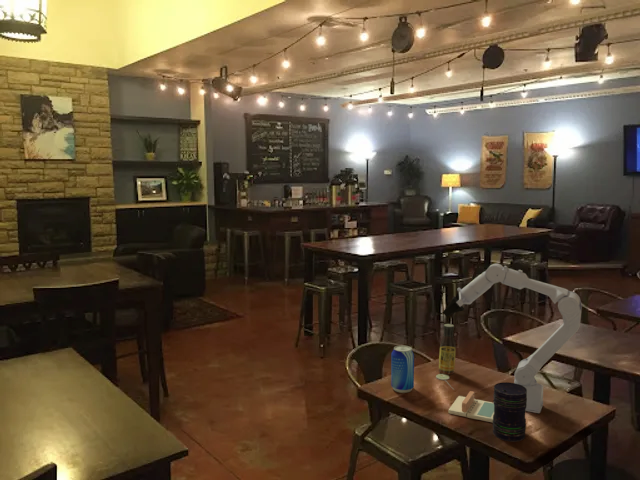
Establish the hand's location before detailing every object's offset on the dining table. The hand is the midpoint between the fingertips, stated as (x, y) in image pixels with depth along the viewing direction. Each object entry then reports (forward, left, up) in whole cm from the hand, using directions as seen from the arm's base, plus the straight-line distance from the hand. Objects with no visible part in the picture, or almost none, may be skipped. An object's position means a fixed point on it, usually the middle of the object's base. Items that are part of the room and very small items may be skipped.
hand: (447, 311), depth 203 cm
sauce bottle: (+5, -20, -31) cm, 37 cm away
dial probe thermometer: (+2, -10, -32) cm, 33 cm away
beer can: (+15, +4, -31) cm, 35 cm away
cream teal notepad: (-17, +10, -31) cm, 36 cm away
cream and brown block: (-9, +10, -31) cm, 34 cm away
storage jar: (-27, +22, -31) cm, 46 cm away
